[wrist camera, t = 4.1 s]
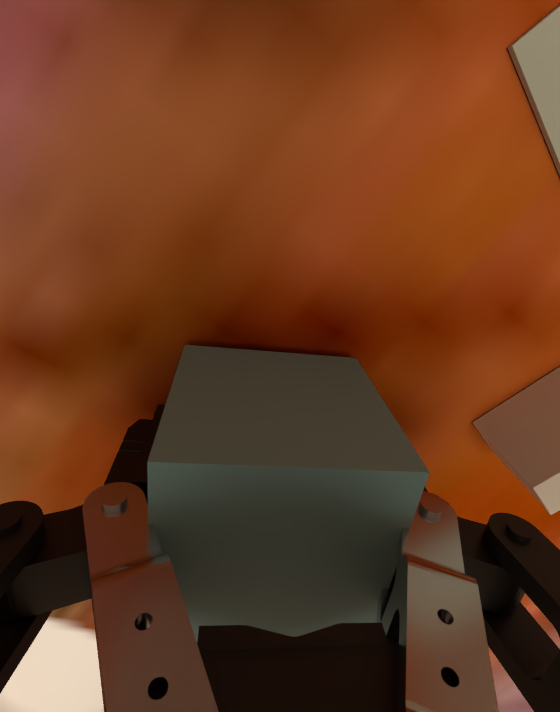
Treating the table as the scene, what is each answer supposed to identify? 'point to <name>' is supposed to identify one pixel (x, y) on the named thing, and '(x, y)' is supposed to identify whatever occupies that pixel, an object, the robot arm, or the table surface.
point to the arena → (556, 390)
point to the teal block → (280, 489)
